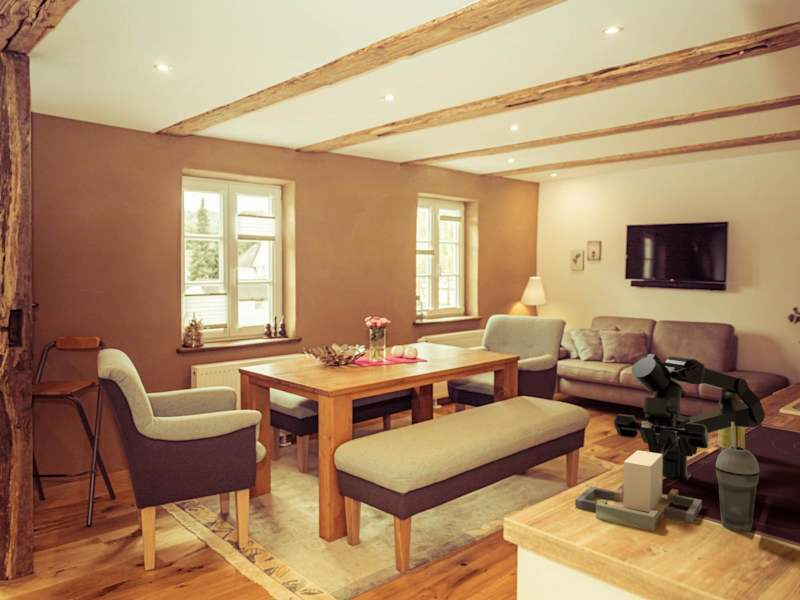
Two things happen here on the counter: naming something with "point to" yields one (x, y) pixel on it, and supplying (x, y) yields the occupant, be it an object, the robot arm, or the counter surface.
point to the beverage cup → (737, 486)
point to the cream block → (642, 480)
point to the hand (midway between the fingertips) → (653, 464)
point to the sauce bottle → (726, 433)
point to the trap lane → (637, 516)
